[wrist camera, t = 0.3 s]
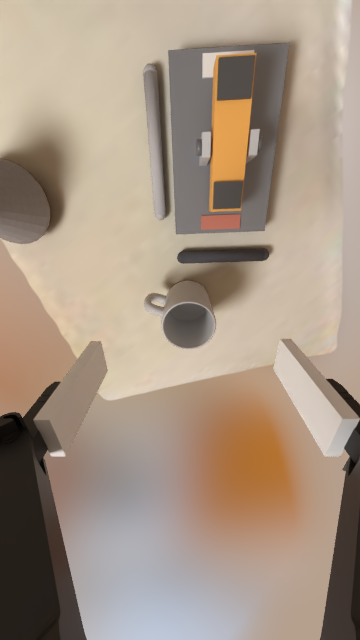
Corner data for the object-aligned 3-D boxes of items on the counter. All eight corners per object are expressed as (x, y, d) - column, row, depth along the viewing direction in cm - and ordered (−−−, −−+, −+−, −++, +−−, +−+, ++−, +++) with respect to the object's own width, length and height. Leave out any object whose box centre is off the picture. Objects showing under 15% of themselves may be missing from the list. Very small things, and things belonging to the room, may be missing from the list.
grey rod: (143, 69, 27) (141, 60, 26) (157, 68, 27) (156, 59, 26) (155, 220, 35) (154, 220, 34) (166, 219, 35) (165, 219, 33)
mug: (215, 287, 40) (225, 310, 30) (199, 324, 44) (204, 356, 34) (155, 268, 39) (146, 285, 29) (144, 308, 42) (132, 335, 33)
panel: (169, 66, 27) (165, 17, 20) (278, 60, 27) (310, 7, 20) (176, 232, 36) (174, 236, 29) (258, 229, 36) (275, 232, 29)
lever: (213, 68, 23) (216, 52, 21) (249, 66, 23) (257, 50, 20) (209, 210, 30) (211, 212, 28) (236, 209, 30) (241, 210, 28)
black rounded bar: (177, 251, 37) (176, 252, 36) (267, 247, 37) (271, 249, 35) (177, 262, 38) (177, 264, 36) (265, 259, 38) (270, 261, 36)
